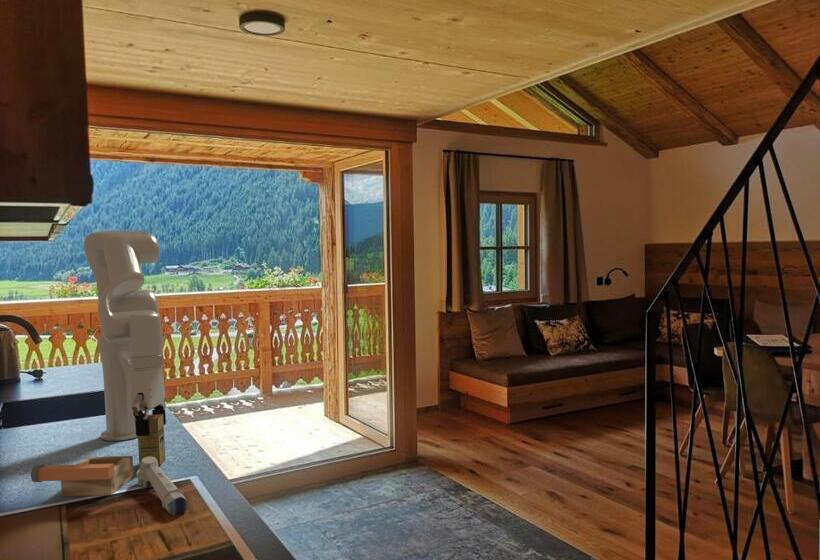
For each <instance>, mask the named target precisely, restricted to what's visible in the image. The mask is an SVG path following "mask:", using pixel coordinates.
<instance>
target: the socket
mask: <svg viewBox="0 0 820 560" xmlns="http://www.w3.org/2000/svg"><path fill="white" fill-rule="evenodd" d="M80 464H114V476H112V477H111V478H110V479H97V480H63V481H60V486H61V497H86V496H112V495H114V494H115V493H116V492H117V491H119V490H120V489H121V488H122V487H123V486H124V485H125V484H126V482H127V483H128V482H129V481H130V480H131V479H132V477H133V476H134V477H135V475H134V474H135V473H134V457H133V455H120V456H119V455H118V456H117V455H115V456H90V457H89V456H86V457H85V458H83V459H82V460H80V461H79V462H77V463H76V464H74V465H80ZM134 477H133V478H134Z"/></svg>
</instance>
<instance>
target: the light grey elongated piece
mask: <svg viewBox="0 0 820 560" xmlns="http://www.w3.org/2000/svg"><path fill="white" fill-rule="evenodd" d="M136 478H137V485H138V486H139V487H140V486H141V487H142V488H144V487H146V488H147V489H148V488H153V490H154V491H155V493H156V494H157V496H158V498H159V499H160V501H161V507H162V508H164V509H165V510H166V511H167V513H168V514H170V515H171V516H177V515H182V514H184V513H186V511H187V510H188V507H189V505H188V500H187V498H186V497H185V493H184V491H182V490H181V489H179V488H178V487H177V486H176V485H175V484H174V483H173V481H171V479H170V478H169V477H168V475H166V474H165V472H163V470H162V469H161V467H158V461H157V459H156V458H155V457H145V458H143V459H142V461H141V463H140V467H139V468H138V469H137V471H136Z"/></svg>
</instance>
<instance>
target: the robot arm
mask: <svg viewBox="0 0 820 560" xmlns="http://www.w3.org/2000/svg"><path fill="white" fill-rule="evenodd" d="M83 244H84V253H85V257H86V261H87V263H88V265H89V267H90V269H91V272H92V273H93V276H94V278H95V281H96V290H97V298H98V299H97V300H98V304H97V315H98V322H99V325H100V326H99V327H100V332H101V333H100V335H99V336H98V338H97V347H98V353H99V357H100V360H101V361H100V362H101V367H102V376H103V392H104V393H103V394H104V409H105V425H106V426H105V428H106V430H104V431H102V432H101V434H100V438H101V439H102V440H103V441H110V442H115V441H126V440H132V439H136V438H138V436H149V435H150V424H149V419H147V418H148V415H150V414H149V412H150V410H151V415H153V414H163V421H164V426H165V425H167V419H166V391H167V390H166V387H165V379H164V372H163V367H165V363H164V362H165V361H164V336H163V329H162V328H163V327H162V326H163V325H162V319H161V318H162V317H161V315H160V313H161V312H160V306H159V302H158V298H157V296H156V294H155V293H154V292H153V291H151V290H147V289H141V288H142V287H143V286H144V283H145V275H144V272H143V267H142V264H155V263H157V262H158V261H159V260H160V256H161V247H160V244H159V241H158V239H157V238H156V236H155V235H154V234H152V233H150V232H147V231H145V230H103V231H102V230H101V231H94V232H91V233H89V234H88V235H86V236H85V238H84V242H83Z"/></svg>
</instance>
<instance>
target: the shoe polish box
mask: <svg viewBox="0 0 820 560" xmlns="http://www.w3.org/2000/svg"><path fill="white" fill-rule="evenodd" d="M147 419H149V424H150V435H149V436H138V437H137V441H138V442H137V444H138V445H137V446H138V449H137V450H138V461H139V462H138V463H139V464H138V465H139V468H140V463H141V461H142V459H143V458H145V457H155V458H156V459H157V461H158V466H162V465H163V464H164V463H165V461H166V446H165V442H166V441H165V427H164V426H165V425H164V421H163V414H153V415H152V414H148V418H147ZM163 462H164V463H163ZM162 463H163V464H162Z"/></svg>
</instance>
